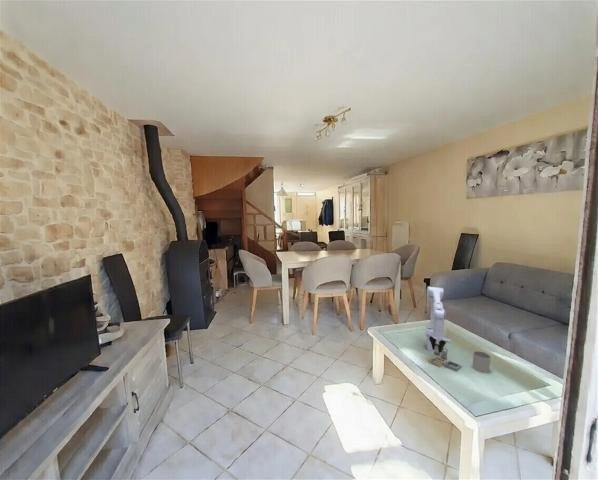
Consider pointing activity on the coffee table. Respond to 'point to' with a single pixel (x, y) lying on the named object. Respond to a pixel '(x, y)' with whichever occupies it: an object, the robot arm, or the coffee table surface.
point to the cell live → (436, 349)
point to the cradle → (452, 366)
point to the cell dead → (444, 354)
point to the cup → (481, 362)
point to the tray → (437, 361)
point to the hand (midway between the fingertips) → (437, 350)
